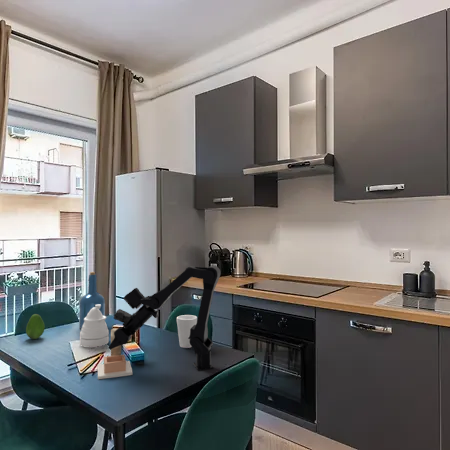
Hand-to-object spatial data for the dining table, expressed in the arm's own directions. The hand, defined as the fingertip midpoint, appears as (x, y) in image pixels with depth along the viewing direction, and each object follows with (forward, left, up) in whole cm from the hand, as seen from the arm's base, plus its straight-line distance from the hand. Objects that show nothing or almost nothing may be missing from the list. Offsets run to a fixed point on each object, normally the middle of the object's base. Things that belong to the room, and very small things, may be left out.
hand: (112, 344), depth 146 cm
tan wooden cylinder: (0, -1, -7) cm, 7 cm away
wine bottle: (+58, +8, -7) cm, 59 cm away
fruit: (+45, +34, -7) cm, 56 cm away
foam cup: (+11, -33, -7) cm, 36 cm away
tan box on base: (-9, 0, -7) cm, 12 cm away
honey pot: (+29, +7, -7) cm, 30 cm away
